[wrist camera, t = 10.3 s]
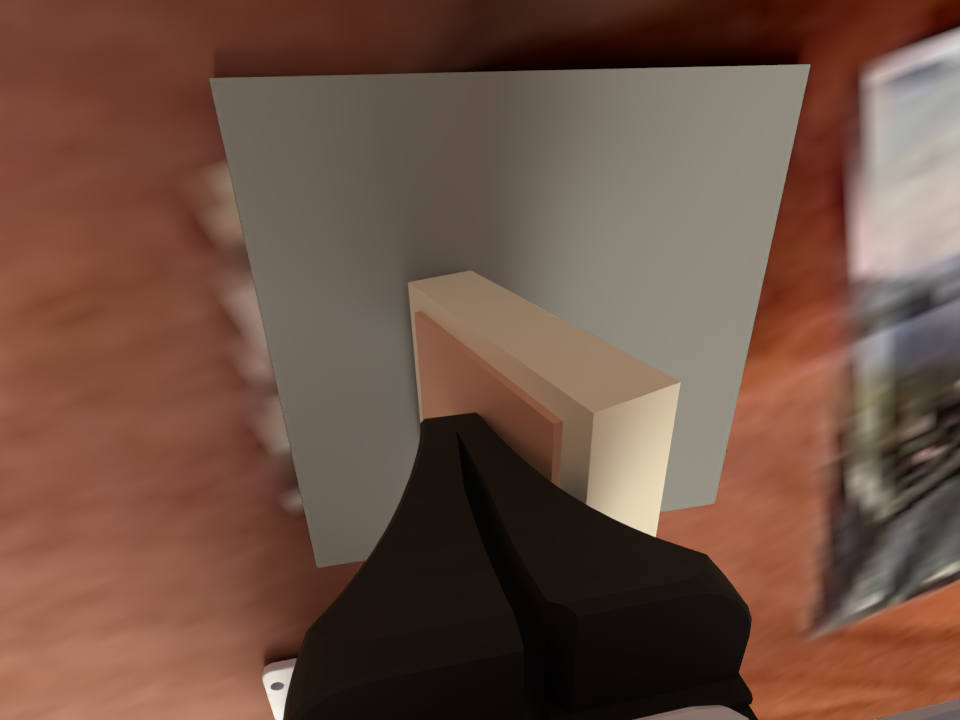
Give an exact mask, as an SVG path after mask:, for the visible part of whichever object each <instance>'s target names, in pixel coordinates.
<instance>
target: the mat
mask: <svg viewBox="0 0 960 720" xmlns="http://www.w3.org/2000/svg"><path fill="white" fill-rule="evenodd" d="M809 69H810V64H803V65H760V66H716V67H672V68H629V69H585V70H541V71H497V72H454V73H410V74H366V75H323V76H279V77H235V78H209V81H210V85H211V90H212V94H213V99H214V103H215V108H216V113H217V117H218V122H219V126H220V131H221V135H222V140H223V144H224V149H225V153H226V158H227V162H228V167H229V171H230V176H231V181H232V185H233V190H234V194H235V199H236V203H237V208H238V212H239V217H240V221H241V226H242V230H243V235H244V240H245V244H246V249H247V253H248V258H249V262H250V267H251V271H252V276H253V280H254V285H255V289H256V294H257V298H258V303H259V308H260V312H261V317H262V321H263V326H264V330H265V335H266V339H267V344H268V348H269V353H270V357H271V362H272V366H273V371H274V376H275V380H276V385H277V389H278V394H279V398H280V403H281V407H282V412H283V416H284V421H285V425H286V430H287V434H288V439H289V444H290V448H291V453H292V457H293V462H294V466H295V471H296V475H297V480H298V484H299V489H300V493H301V498H302V503H303V507H304V512H305V516H306V521H307V525H308V530H309V534H310V539H311V543H312V548H313V552H314V557H315V561H316V566H317V568H322V567H328V566H334V565H340V564H346V563H352V562H359V561H365V560H367V559H368V557H369V556H370V554H371V553H372V551H373V550H374V548H375V546H376V545H377V543H378V541H379V540H380V538H381V536H382V535H383V533H384V531H385V530H386V528H387V526H388V524H389V522H390V520H391V519H392V517H393V515H394V513H395V511H396V509H397V506H398V504H399V502H400V500H401V498H402V495H403V493H404V490H405V487H406V485H407V482H408V480H409V477H410V474H411V472H412V468H413V465H414V461H415V458H416V454H417V450H418V445H419V440H420V414H419V403H418V392H417V380H416V369H415V358H414V346H413V335H412V324H411V312H410V301H409V289H408V282H412V281H417V280H422V279H428V278H433V277H438V276H443V275H449V274H454V273H459V272H464V271H469V270H471V271H473V272H475V273H477V274H479V275H480V276H482V277H484V278H486V279H488V280H490V281H492V282H494V283H495V284H497V285H499V286H501V287H503V288H505V289H507V290H509V291H511V292H512V293H514V294H516V295H518V296H520V297H522V298H524V299H526V300H527V301H529V302H531V303H533V304H535V305H537V306H539V307H541V308H542V309H544V310H546V311H548V312H550V313H552V314H554V315H556V316H557V317H559V318H561V319H563V320H565V321H567V322H569V323H571V324H572V325H574V326H576V327H578V328H580V329H582V330H584V331H586V332H587V333H589V334H591V335H593V336H595V337H597V338H599V339H601V340H602V341H604V342H606V343H608V344H610V345H612V346H614V347H616V348H617V349H619V350H621V351H623V352H625V353H627V354H629V355H631V356H632V357H634V358H636V359H638V360H640V361H642V362H644V363H646V364H648V365H649V366H651V367H653V368H655V369H657V370H659V371H661V372H663V373H664V374H666V375H668V376H670V377H672V378H674V379H676V380H678V381H679V382H681V384H680V390H679V396H678V402H677V408H676V414H675V421H674V427H673V433H672V439H671V445H670V452H669V458H668V464H667V470H666V476H665V483H664V489H663V495H662V501H661V507H660V512H665V511H671V510H677V509H684V508H690V507H696V506H702V505H708V504H714V503H715V498H716V494H717V489H718V485H719V480H720V476H721V471H722V466H723V462H724V457H725V453H726V448H727V444H728V439H729V434H730V430H731V425H732V421H733V416H734V412H735V407H736V402H737V398H738V393H739V389H740V384H741V380H742V375H743V370H744V366H745V361H746V357H747V352H748V348H749V343H750V339H751V334H752V329H753V325H754V320H755V316H756V311H757V307H758V302H759V297H760V293H761V288H762V284H763V279H764V275H765V270H766V265H767V261H768V256H769V252H770V247H771V243H772V238H773V233H774V229H775V224H776V220H777V215H778V211H779V206H780V201H781V197H782V192H783V188H784V183H785V179H786V174H787V169H788V165H789V160H790V156H791V151H792V147H793V142H794V138H795V133H796V128H797V124H798V119H799V115H800V110H801V106H802V101H803V96H804V92H805V87H806V83H807V78H808V74H809Z"/></svg>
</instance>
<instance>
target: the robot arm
mask: <svg viewBox="0 0 960 720" xmlns="http://www.w3.org/2000/svg"><path fill="white" fill-rule="evenodd" d="M751 620H752V618H751V615H750V612H749V608H748V606H747V604H746V603H745V602H744V600H743V599H742V598H741V596H740V595H739V594H738V592H737V591H736V590H735V588H734V587H733V585H732V584H731V583H730V581H729V580H728V579H727V578H726V576H725V575H724V574H723V573H722V571H721V570H720V569H719V568H718V567H717V566H716V565H715V564H714V563H713V561H712V560H711V559H710V558H709V557H708V556H707V555H706V554H703V553H700V552H697V551H694V550H691V549H688V548H685V547H682V546H679V545H676V544H673V543H670V542H667V541H664V540H661V539H659V538H656V537H654V536H651V535H649V534H646V533H644V532H642V531H639V530H637V529H634V528H632V527H630V526H628V525H625V524H623V523H621V522H619V521H617V520H615V519H613V518H611V517H609V516H607V515H605V514H603V513H601V512H599V511H597V510H595V509H594V508H592V507H590V506H588V505H586V504H585V503H583V502H581V501H579V500H578V499H576V498H575V497H573V496H571V495H570V494H568V493H567V492H565V491H564V490H562V489H561V488H559V487H558V486H556V485H555V484H553V483H552V482H551V481H549V480H548V479H547V478H545V477H544V476H543V475H542V474H540V473H539V472H538V471H537V470H535V469H534V468H533V467H532V466H531V465H529V464H528V463H527V462H526V461H525V460H524V459H523V458H521V457H520V456H519V455H518V454H517V453H516V452H515V451H514V450H513V449H512V448H511V447H509V446H508V445H507V444H506V443H505V442H504V441H503V440H502V439H501V438H500V437H499V436H498V435H497V434H496V433H495V431H494V430H493V429H492V428H491V427H490V426H489V425H488V424H487V423H486V422H485V421H484V419H483V418H482V417H481V416H480V415H479V414H477V413H476V412H474V413H466V414H458V415H450V416H442V417H434V418H427V419H424V420H423V421H422V422H421V423H420V440H419V445H418V450H417V454H416V458H415V461H414V465H413V468H412V472H411V474H410V477H409V480H408V482H407V485H406V487H405V490H404V493H403V495H402V498H401V500H400V502H399V504H398V506H397V509H396V511H395V513H394V515H393V517H392V519H391V520H390V522H389V524H388V526H387V528H386V530H385V531H384V533H383V535H382V536H381V538H380V540H379V541H378V543H377V545H376V546H375V548H374V550H373V551H372V553H371V554H370V556H369V557H368V559H367V560H366V561H365V563H364V564H363V566H362V567H361V568H360V569H359V571H358V572H357V573H356V575H355V576H354V577H353V579H352V580H351V581H350V583H349V584H348V585H347V587H346V588H345V589H344V590H343V592H342V593H341V594H340V595H339V596H338V598H337V599H336V600H335V601H334V602H333V603H332V604H331V605H330V606H329V607H328V608H327V610H326V611H325V612H324V613H323V614H322V615H321V616H320V617H319V618H318V619H317V620H316V622H315V623H314V624H313V625H312V626H311V627H310V628H309V629H308V630H307V633H306V635H305V638H304V640H303V643H302V646H301V649H300V651H299V654H298V657H297V658H295V659H289V660H284V661H279V662H274V663H270V664H268V665H267V666H266V667H265V668H264V669H263V674H262V681H263V684H264V688H265V691H266V694H267V697H268V700H269V703H270V706H271V709H272V712H273V715H274V718H275V720H758V719H757V717H756V716H755V714H754V713H753V711H752V709H751V708H750V706H749V704H751V703H752V700H753V698H752V694H751V691H750V690H749V688H748V687H747V685H746V684H745V682H744V681H743V679H742V677H741V676H740V674H739V669H740V666H741V663H742V659H743V656H744V652H745V649H746V646H747V642H748V639H749V635H750V629H751ZM872 720H960V698H958V699H954V700H949V701H945V702H941V703H937V704H933V705H929V706H925V707H921V708H917V709H913V710H909V711H905V712H901V713H897V714H893V715H889V716H885V717H881V718H877V719H872Z"/></svg>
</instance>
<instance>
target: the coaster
mask: <svg viewBox="0 0 960 720" xmlns="http://www.w3.org/2000/svg"><path fill="white" fill-rule="evenodd" d="M408 289H409V301H410V312H411V324H412V335H413V346H414V358H415V369H416V380H417V392H418V403H419V414H420V423H421V422H422V421H423V420H424V419H427V418H434V417H442V416H450V415H458V414H466V413H474V412H476V413H477V414H479V415H480V416H481V417H482V418H483V419H484V421H485V422H486V423H487V424H488V425H489V426H490V427H491V428H492V429H493V430H494V431H495V433H496V434H497V435H498V436H499V437H500V438H501V439H502V440H503V441H504V442H505V443H506V444H507V445H508V446H509V447H511V448H512V449H513V450H514V451H515V452H516V453H517V454H518V455H519V456H520V457H521V458H523V459H524V460H525V461H526V462H527V463H528V464H529V465H531V466H532V467H533V468H534V469H535V470H537V471H538V472H539V473H540V474H542V475H543V476H544V477H545V478H547V479H548V480H549V481H551V482H552V483H553V484H555V485H556V486H558V487H559V488H561V489H562V490H564V491H565V492H567V493H568V494H570V495H571V496H573V497H575V498H576V499H578V500H579V501H581V502H583V503H585V504H586V505H588V506H590V507H592V508H594V509H595V510H597V511H599V512H601V513H603V514H605V515H607V516H609V517H611V518H613V519H615V520H617V521H619V522H621V523H623V524H625V525H628V526H630V527H632V528H634V529H637V530H639V531H642V532H644V533H646V534H649V535H651V536H654V537H656V532H657V526H658V520H659V514H660V507H661V501H662V495H663V489H664V483H665V476H666V470H667V464H668V458H669V452H670V445H671V439H672V433H673V427H674V421H675V414H676V408H677V402H678V396H679V390H680V384H681V382H679V381H678V380H676V379H674V378H672V377H670V376H668V375H666V374H664V373H663V372H661V371H659V370H657V369H655V368H653V367H651V366H649V365H648V364H646V363H644V362H642V361H640V360H638V359H636V358H634V357H632V356H631V355H629V354H627V353H625V352H623V351H621V350H619V349H617V348H616V347H614V346H612V345H610V344H608V343H606V342H604V341H602V340H601V339H599V338H597V337H595V336H593V335H591V334H589V333H587V332H586V331H584V330H582V329H580V328H578V327H576V326H574V325H572V324H571V323H569V322H567V321H565V320H563V319H561V318H559V317H557V316H556V315H554V314H552V313H550V312H548V311H546V310H544V309H542V308H541V307H539V306H537V305H535V304H533V303H531V302H529V301H527V300H526V299H524V298H522V297H520V296H518V295H516V294H514V293H512V292H511V291H509V290H507V289H505V288H503V287H501V286H499V285H497V284H495V283H494V282H492V281H490V280H488V279H486V278H484V277H482V276H480V275H479V274H477V273H475V272H473V271H471V270H469V271H464V272H459V273H454V274H449V275H443V276H438V277H433V278H428V279H422V280H417V281H412V282H408Z"/></svg>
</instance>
